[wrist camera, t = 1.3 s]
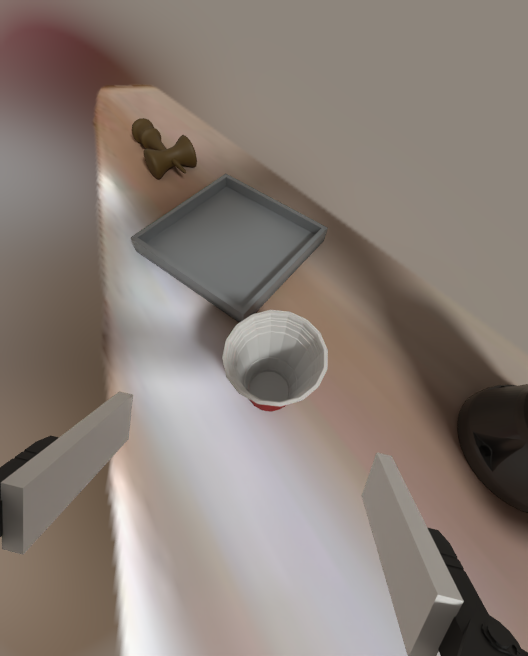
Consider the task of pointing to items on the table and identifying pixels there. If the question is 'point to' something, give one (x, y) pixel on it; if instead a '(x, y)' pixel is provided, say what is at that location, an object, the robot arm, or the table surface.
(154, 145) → the kendama
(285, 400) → the plastic cup
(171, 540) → the table surface
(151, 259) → the grey tray
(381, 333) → the table surface
